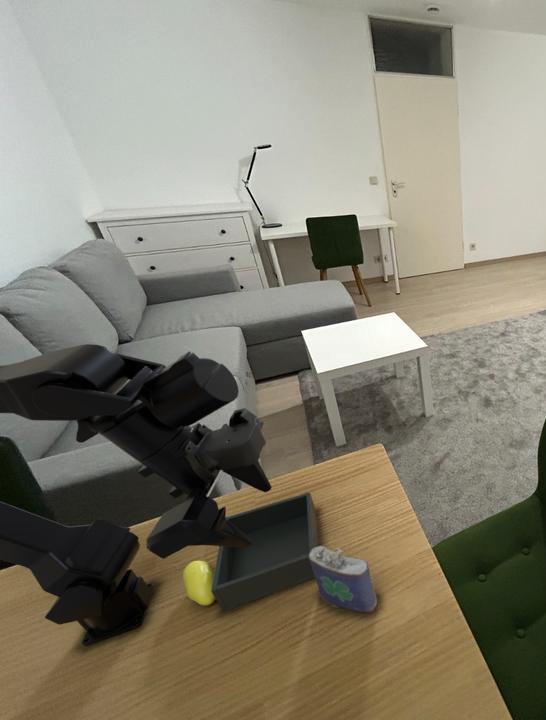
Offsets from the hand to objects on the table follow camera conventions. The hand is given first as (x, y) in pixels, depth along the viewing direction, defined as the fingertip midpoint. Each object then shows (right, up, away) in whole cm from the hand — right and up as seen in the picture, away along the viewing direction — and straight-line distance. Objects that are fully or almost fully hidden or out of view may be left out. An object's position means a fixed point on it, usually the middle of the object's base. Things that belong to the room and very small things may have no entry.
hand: (259, 515), depth 53 cm
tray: (-3, -11, +11) cm, 15 cm away
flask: (+11, -14, +4) cm, 18 cm away
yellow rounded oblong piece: (-13, -12, +4) cm, 18 cm away
